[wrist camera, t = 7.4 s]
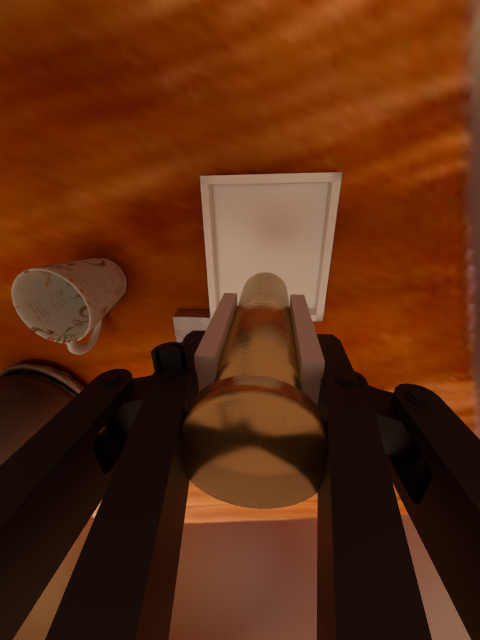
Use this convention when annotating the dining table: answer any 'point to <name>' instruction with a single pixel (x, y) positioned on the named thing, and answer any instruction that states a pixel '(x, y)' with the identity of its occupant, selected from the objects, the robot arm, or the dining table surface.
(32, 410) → the potted plant
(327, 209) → the tray
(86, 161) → the dining table surface
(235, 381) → the pin
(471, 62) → the dining table surface
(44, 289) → the mug
